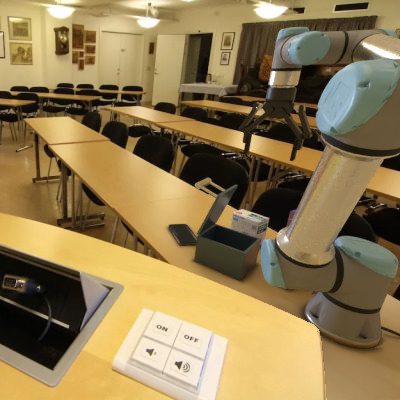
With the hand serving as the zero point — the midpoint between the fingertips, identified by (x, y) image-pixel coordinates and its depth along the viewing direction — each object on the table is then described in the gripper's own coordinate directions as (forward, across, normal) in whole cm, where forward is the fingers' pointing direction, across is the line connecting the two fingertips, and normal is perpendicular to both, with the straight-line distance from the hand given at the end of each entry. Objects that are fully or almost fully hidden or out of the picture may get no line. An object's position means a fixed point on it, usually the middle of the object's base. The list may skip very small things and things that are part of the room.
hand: (268, 156), depth 103 cm
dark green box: (+35, +3, +14) cm, 38 cm away
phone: (+35, +23, +7) cm, 42 cm away
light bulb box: (+35, +3, -6) cm, 35 cm away
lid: (+17, +8, +14) cm, 23 cm away
